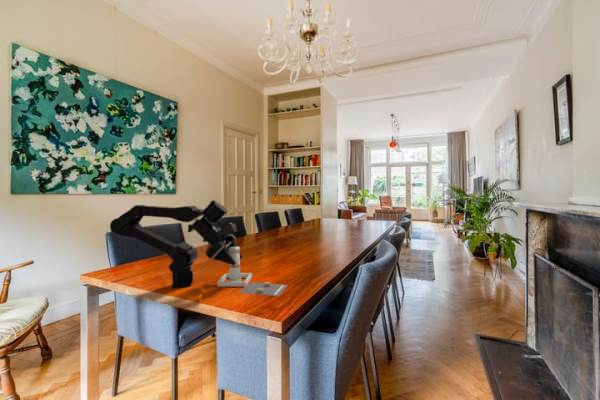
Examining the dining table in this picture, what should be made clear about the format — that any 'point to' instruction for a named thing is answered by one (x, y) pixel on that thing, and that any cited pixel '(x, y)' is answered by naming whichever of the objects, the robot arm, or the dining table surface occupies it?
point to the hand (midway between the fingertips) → (238, 261)
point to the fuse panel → (264, 289)
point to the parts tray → (235, 283)
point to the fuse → (235, 268)
